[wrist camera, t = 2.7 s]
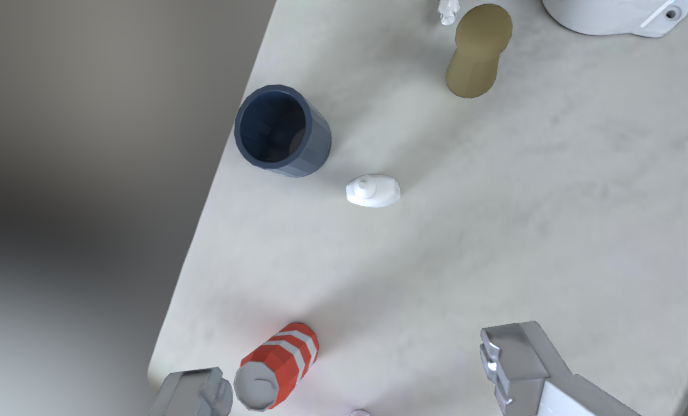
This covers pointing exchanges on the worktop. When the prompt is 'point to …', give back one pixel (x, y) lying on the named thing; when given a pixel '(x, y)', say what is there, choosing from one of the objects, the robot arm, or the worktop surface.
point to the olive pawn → (478, 50)
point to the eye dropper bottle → (373, 190)
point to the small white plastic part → (448, 11)
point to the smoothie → (360, 413)
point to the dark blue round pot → (282, 132)
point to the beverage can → (275, 367)
